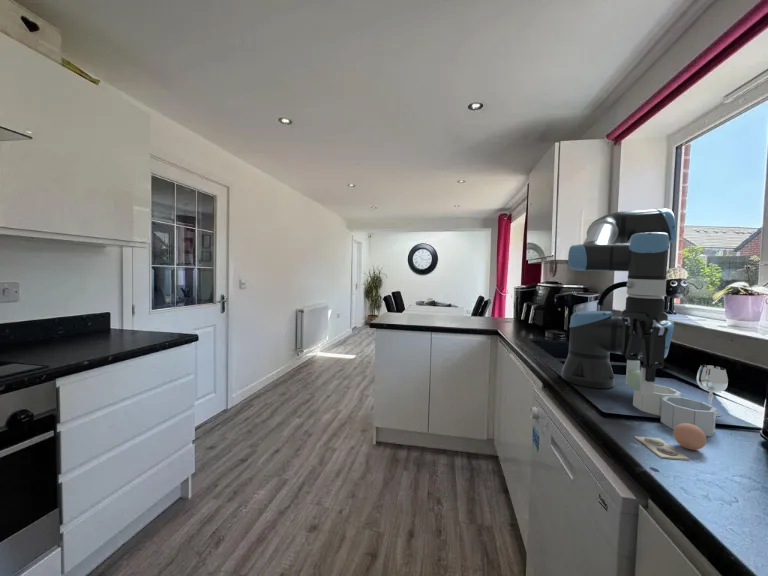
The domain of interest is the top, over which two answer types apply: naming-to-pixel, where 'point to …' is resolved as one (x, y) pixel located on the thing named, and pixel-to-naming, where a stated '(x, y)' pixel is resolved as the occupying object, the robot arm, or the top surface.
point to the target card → (661, 448)
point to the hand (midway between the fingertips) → (638, 388)
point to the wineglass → (712, 380)
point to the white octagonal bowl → (653, 399)
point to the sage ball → (634, 379)
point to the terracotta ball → (689, 436)
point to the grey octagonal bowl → (688, 413)
